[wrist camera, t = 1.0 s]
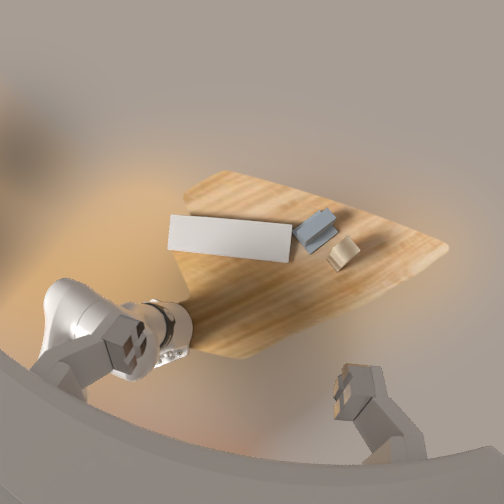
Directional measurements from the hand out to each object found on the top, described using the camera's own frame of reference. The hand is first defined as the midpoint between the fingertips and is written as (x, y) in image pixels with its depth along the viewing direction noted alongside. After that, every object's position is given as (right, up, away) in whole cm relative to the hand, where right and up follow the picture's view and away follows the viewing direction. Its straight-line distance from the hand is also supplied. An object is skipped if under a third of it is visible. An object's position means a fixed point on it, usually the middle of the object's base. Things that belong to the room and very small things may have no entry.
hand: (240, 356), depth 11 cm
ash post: (+23, +2, +64) cm, 68 cm away
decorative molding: (-6, +7, +70) cm, 71 cm away
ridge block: (+18, +9, +67) cm, 69 cm away
